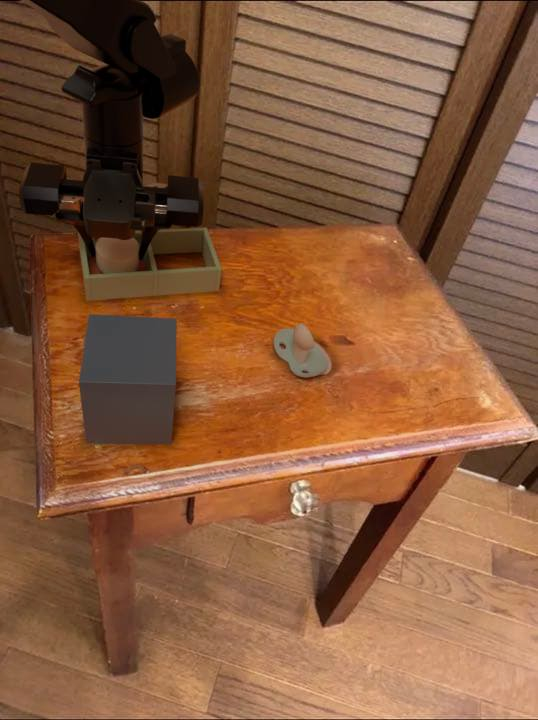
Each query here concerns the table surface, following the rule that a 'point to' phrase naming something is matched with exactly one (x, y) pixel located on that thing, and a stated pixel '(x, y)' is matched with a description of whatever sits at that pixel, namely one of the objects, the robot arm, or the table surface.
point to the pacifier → (302, 352)
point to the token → (117, 255)
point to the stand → (128, 379)
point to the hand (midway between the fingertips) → (117, 256)
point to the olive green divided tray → (155, 268)
